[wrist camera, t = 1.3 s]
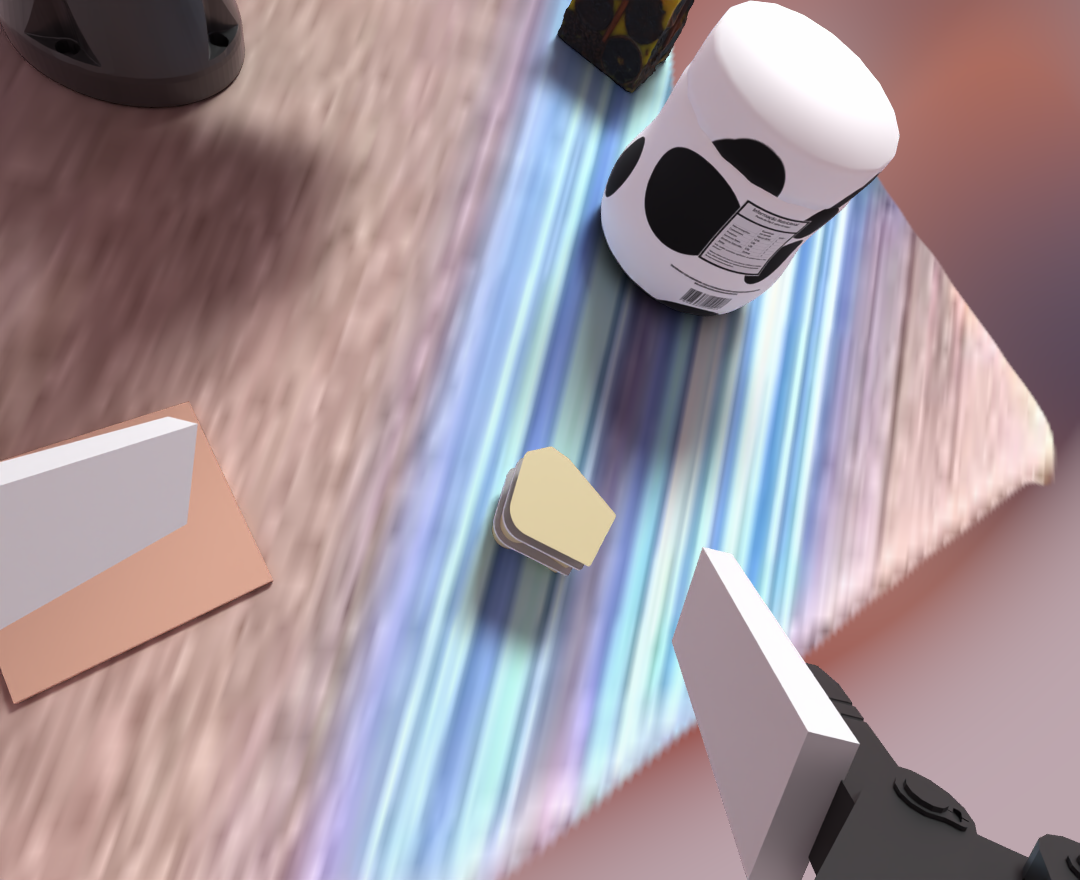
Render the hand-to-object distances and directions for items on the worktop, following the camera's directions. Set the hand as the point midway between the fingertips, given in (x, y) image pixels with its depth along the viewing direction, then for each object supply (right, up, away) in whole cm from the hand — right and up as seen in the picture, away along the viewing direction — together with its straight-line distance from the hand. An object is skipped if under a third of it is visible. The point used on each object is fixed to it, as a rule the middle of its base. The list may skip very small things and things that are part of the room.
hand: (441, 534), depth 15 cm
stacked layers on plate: (+2, -4, +26) cm, 26 cm away
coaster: (-21, -3, +17) cm, 27 cm away
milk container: (+15, +20, +41) cm, 48 cm away
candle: (+10, +45, +49) cm, 68 cm away
